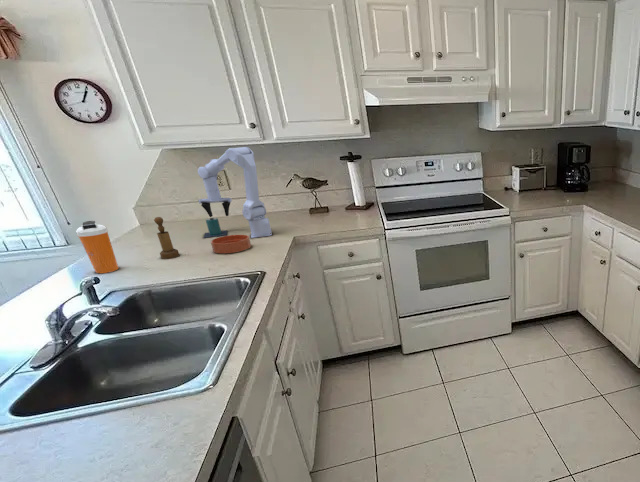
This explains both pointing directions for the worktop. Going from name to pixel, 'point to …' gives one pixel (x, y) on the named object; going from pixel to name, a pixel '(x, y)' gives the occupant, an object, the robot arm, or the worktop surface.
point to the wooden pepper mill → (165, 241)
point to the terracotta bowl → (231, 243)
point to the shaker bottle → (97, 246)
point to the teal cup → (213, 226)
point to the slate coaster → (207, 235)
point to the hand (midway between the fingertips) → (219, 216)
